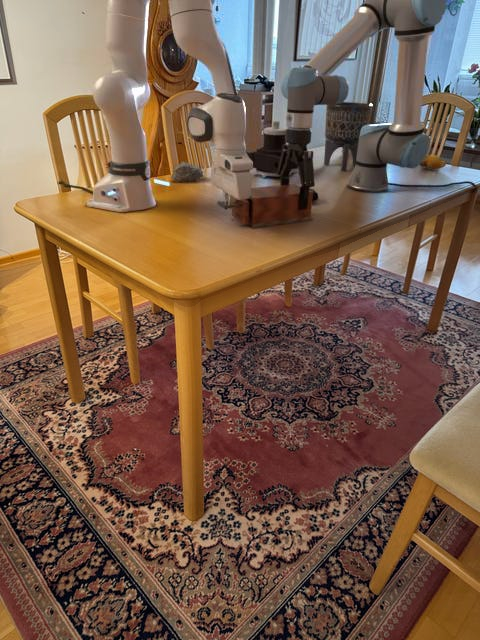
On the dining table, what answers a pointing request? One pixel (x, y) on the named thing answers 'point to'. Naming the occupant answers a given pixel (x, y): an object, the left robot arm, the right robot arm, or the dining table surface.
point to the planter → (345, 129)
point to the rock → (186, 173)
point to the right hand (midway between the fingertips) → (292, 204)
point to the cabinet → (278, 205)
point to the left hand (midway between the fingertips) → (229, 207)
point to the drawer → (240, 210)
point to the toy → (432, 162)
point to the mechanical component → (270, 152)
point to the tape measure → (314, 195)
